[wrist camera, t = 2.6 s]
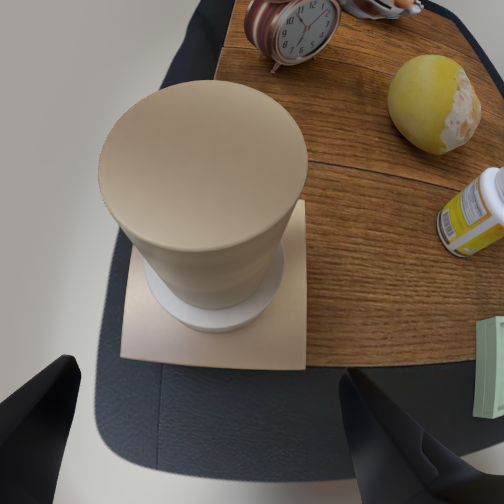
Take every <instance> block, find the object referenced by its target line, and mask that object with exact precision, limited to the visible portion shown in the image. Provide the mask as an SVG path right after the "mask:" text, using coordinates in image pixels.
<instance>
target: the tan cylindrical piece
mask: <svg viewBox="0 0 504 504" xmlns="http://www.w3.org/2000/svg"><path fill="white" fill-rule="evenodd" d="M307 168H308V156H307V149H306V145H305V141H304V138H303V135H302V133H301V131H300V129H299V127H298V125H297V124H296V122H295V120H294V119H293V118H292V117H291V115H290V114H289V113H288V112H287V111H286V110H285V109H284V108H283V107H282V106H281V105H280V104H279V103H277V102H276V101H275V100H273V99H272V98H270V97H269V96H267V95H265V94H263V93H262V92H260V91H257V90H255V89H253V88H250V87H247V86H244V85H241V84H237V83H232V82H227V81H217V80H202V81H191V82H186V83H180V84H177V85H173V86H170V87H167V88H164V89H162V90H159V91H157V92H155V93H153V94H151V95H149V96H147V97H146V98H144V99H142V100H141V101H139V102H138V103H137V104H135V105H134V106H133V107H131V108H130V109H129V110H128V111H127V112H126V113H125V114H124V115H123V116H122V117H121V118H120V119H119V120H118V122H117V123H116V124H115V125H114V127H113V128H112V130H111V131H110V133H109V134H108V137H107V138H106V141H105V143H104V145H103V148H102V151H101V154H100V159H99V166H98V181H99V187H100V192H101V195H102V198H103V201H104V203H105V204H106V207H107V208H108V210H109V212H110V214H111V215H112V216H113V218H114V219H115V220H116V222H117V223H118V224H119V226H120V227H121V228H122V230H123V231H124V232H125V234H126V235H127V236H128V238H129V239H130V240H131V242H132V243H133V244H134V246H135V247H136V248H137V249H138V251H139V252H140V253H141V254H142V256H143V257H144V272H145V277H146V280H147V284H148V286H149V288H150V291H151V293H152V294H153V296H154V298H155V299H156V301H157V302H158V303H159V304H160V305H161V307H162V308H163V309H164V310H166V311H167V312H168V313H169V314H170V315H171V316H173V317H174V318H175V319H177V320H178V321H179V322H181V323H182V324H184V325H185V326H187V327H189V328H191V329H193V330H196V331H199V332H203V333H208V334H224V333H230V332H234V331H237V330H239V329H242V328H244V327H245V326H247V325H249V324H250V323H252V322H253V321H254V320H256V319H257V318H258V317H259V316H260V315H261V314H262V312H263V311H264V310H265V309H266V307H267V306H268V305H269V303H270V302H271V301H272V299H273V298H274V296H275V294H276V293H277V291H278V289H279V287H280V284H281V282H282V279H283V275H284V269H285V251H284V245H283V242H282V239H281V238H282V236H283V233H284V231H285V229H286V227H287V224H288V222H289V220H290V217H291V215H292V213H293V210H294V208H295V205H296V203H297V201H298V198H299V196H300V194H301V191H302V189H303V186H304V184H305V180H306V176H307Z"/></svg>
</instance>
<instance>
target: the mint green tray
mask: <svg viewBox="0 0 504 504" xmlns="http://www.w3.org/2000/svg"><path fill="white" fill-rule="evenodd" d="M502 415H504V316H496V317H492V318H488V319H485V320H481V321H477V322H476V378H475V394H474V406H473V416H474V417H483V418H491V419H493V418H496V417H499V416H502Z"/></svg>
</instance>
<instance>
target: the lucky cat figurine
mask: <svg viewBox="0 0 504 504" xmlns="http://www.w3.org/2000/svg"><path fill="white" fill-rule="evenodd" d="M339 1H340V3H341V9H342V10H344V11H346V12H348V13H350V14H351V15H353V16H355V17H357V18H360V19H362V18H371V19H379V18H389V19H399V17H401V16H409V15H414V14H416V13H419V12H421V11H422V10H423V7H424V6H423V5H421V2H420V1H418V0H339Z"/></svg>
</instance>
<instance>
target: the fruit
mask: <svg viewBox="0 0 504 504" xmlns="http://www.w3.org/2000/svg"><path fill="white" fill-rule="evenodd" d="M387 104H388V111H389V114H390V117H391V119H392V121H393V123H394V125H395V126H396V128H397V129H398V130H399V131H400V133H401V134H402V135H403V136H404V137H405V138H406V139H407V140H408V141H410V142H411V143H412V144H413V145H415V146H416V147H418V148H420V149H422V150H424V151H426V152H428V153H432V154H437V155H442V154H444V153H446V152H448V151H451V150H453V149H455V148H457V147H459V146H461V145H463V144H465V143H466V142H467V141H468V140H469V139H470V138H471V137H472V135H473V134H474V131H475V129H476V127H477V125H478V124H479V123H480V119H481V105H480V101H479V99H478V97H477V96H476V94H475V91H474V88H473V86H472V85H471V83H470V82H469V80H468V78H467V77H466V74H465V71H464V70H463V68H462V67H461V66H460V65H459V64H457V63H456V62H455V61H453V60H451V59H449V58H446V57H443V56H438V55H421V56H418V57H416V58H413V59H411V60H409V61H408V62H406V63H405V64H404V65H403V66H402V67H401V68H400V69H399V70H398V71H397V73H396V74H395V76H394V78H393V79H392V81H391V84H390V86H389V90H388V96H387Z"/></svg>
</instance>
